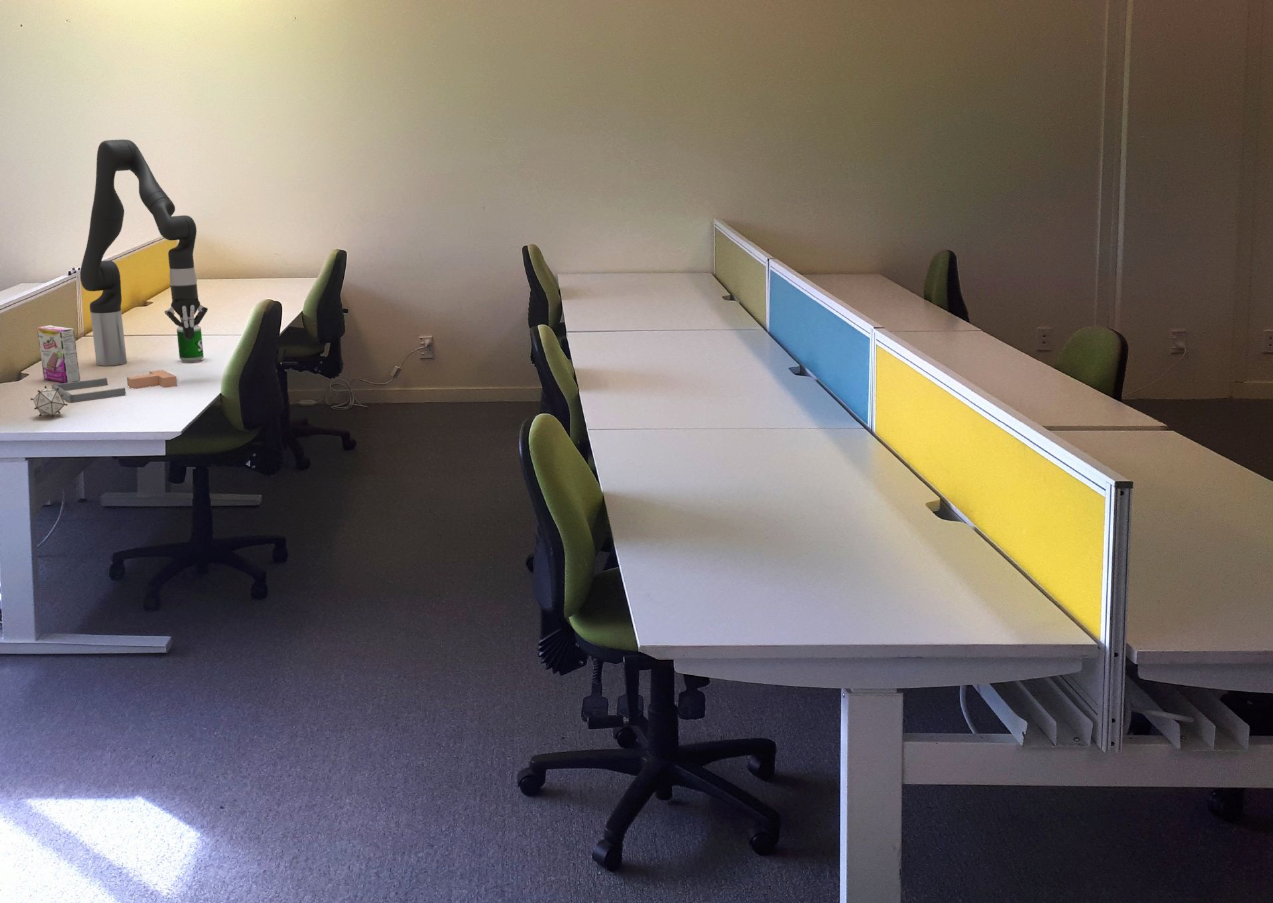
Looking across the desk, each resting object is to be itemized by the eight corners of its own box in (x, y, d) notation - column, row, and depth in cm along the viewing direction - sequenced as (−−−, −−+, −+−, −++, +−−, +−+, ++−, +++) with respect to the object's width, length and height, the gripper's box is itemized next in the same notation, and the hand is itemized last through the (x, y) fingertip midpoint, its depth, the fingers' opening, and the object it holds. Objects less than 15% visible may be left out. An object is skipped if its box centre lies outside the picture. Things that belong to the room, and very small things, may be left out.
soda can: (196, 363, 399) (192, 327, 395) (175, 362, 400) (171, 326, 397) (208, 359, 406) (205, 323, 403) (187, 358, 407) (184, 322, 404)
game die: (48, 428, 333) (40, 395, 336) (76, 417, 333) (68, 384, 335) (28, 419, 324) (20, 386, 327) (58, 408, 324) (50, 375, 327)
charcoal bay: (52, 391, 359) (51, 384, 359) (106, 384, 369) (105, 377, 368) (69, 402, 346) (69, 395, 345) (126, 395, 355) (125, 388, 355)
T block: (123, 384, 369) (122, 374, 368) (163, 379, 376) (162, 369, 375) (136, 391, 360) (135, 381, 359) (177, 385, 367) (176, 376, 367)
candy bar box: (42, 380, 374) (35, 327, 369) (57, 377, 378) (50, 324, 374) (67, 384, 369) (60, 330, 364) (81, 380, 373) (74, 328, 369)
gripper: (200, 279, 375) (206, 335, 379) (157, 283, 367) (163, 340, 371) (209, 282, 369) (215, 338, 374) (165, 286, 361) (171, 343, 366)
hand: (189, 339), depth 373 cm, fingers closed
